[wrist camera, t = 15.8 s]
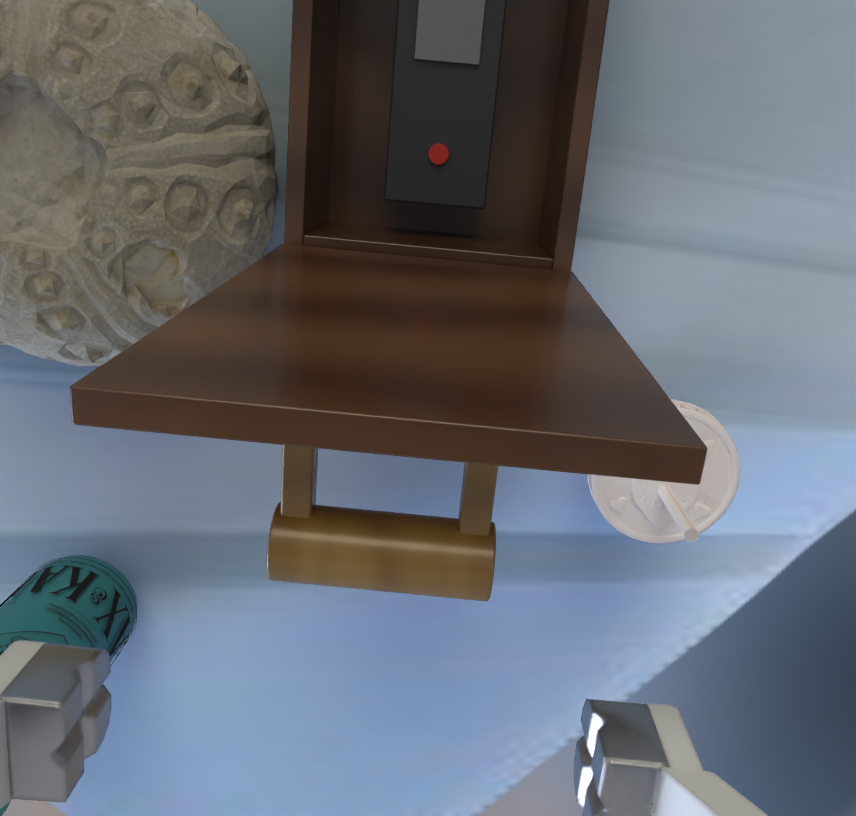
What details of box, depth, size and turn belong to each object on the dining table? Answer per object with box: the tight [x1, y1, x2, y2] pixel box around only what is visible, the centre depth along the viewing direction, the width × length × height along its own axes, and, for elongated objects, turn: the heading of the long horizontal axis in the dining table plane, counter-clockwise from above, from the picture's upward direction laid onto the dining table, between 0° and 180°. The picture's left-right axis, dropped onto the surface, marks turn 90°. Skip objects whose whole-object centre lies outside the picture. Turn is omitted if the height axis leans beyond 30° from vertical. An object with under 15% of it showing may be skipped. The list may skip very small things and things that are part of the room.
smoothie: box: [587, 398, 740, 543], centre depth 37 cm, size 6×6×14 cm
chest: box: [284, 0, 609, 271], centre depth 35 cm, size 19×12×8 cm, turn 175°
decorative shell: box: [0, 0, 278, 366], centre depth 36 cm, size 18×18×10 cm
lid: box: [70, 244, 708, 601], centre depth 25 cm, size 19×12×5 cm
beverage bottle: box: [0, 556, 137, 816], centre depth 39 cm, size 6×7×20 cm
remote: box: [384, 0, 507, 209], centre depth 36 cm, size 14×5×4 cm, turn 175°
